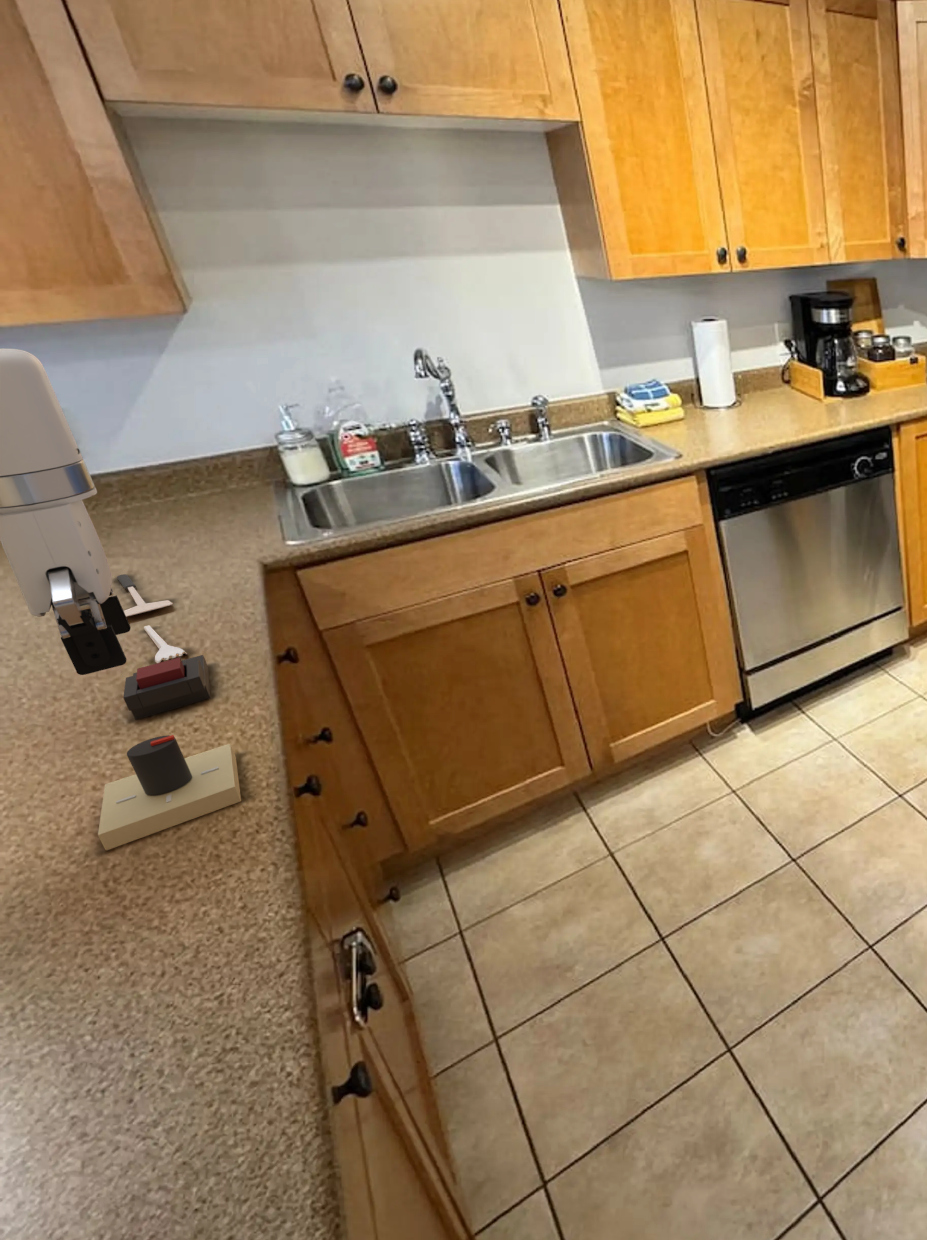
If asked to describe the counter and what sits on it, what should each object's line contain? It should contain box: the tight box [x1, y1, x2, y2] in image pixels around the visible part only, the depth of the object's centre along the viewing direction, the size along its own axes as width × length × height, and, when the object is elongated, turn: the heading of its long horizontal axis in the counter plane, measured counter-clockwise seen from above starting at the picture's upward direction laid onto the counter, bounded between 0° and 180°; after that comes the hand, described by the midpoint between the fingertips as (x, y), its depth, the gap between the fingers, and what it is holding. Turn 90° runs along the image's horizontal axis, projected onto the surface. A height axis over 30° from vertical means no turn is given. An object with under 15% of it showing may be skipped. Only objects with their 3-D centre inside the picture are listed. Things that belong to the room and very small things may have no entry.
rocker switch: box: [122, 654, 211, 721], centre depth 103 cm, size 13×7×4 cm, turn 45°
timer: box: [97, 743, 242, 851], centre depth 82 cm, size 11×10×2 cm
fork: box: [143, 624, 188, 664], centre depth 116 cm, size 3×20×2 cm, turn 54°
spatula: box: [116, 573, 174, 618], centre depth 134 cm, size 6×29×2 cm, turn 53°
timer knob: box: [126, 734, 192, 796], centre depth 81 cm, size 4×4×5 cm
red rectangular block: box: [136, 657, 185, 689], centre depth 100 cm, size 4×4×2 cm
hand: (106, 651), depth 76 cm, fingers open, 9 cm apart
